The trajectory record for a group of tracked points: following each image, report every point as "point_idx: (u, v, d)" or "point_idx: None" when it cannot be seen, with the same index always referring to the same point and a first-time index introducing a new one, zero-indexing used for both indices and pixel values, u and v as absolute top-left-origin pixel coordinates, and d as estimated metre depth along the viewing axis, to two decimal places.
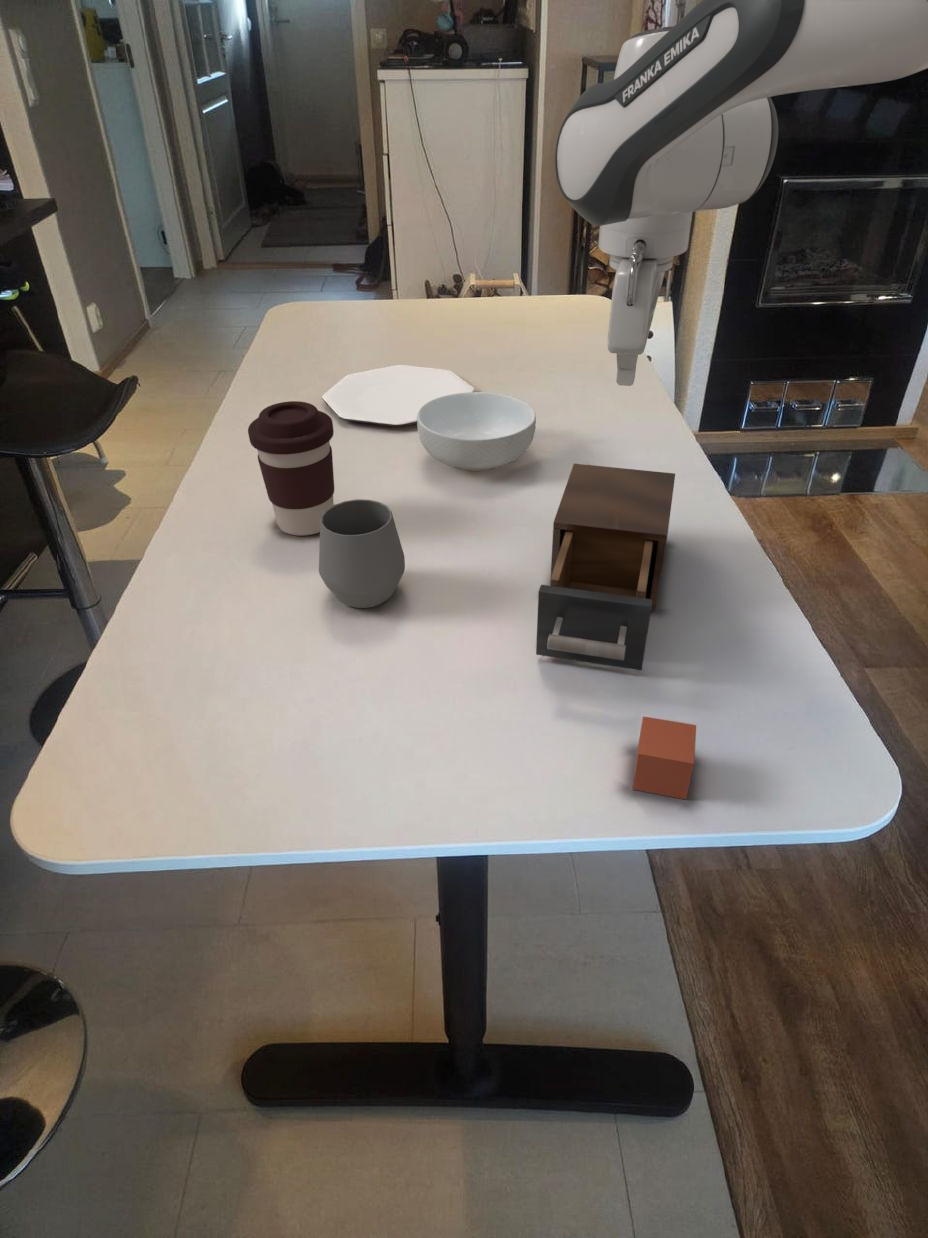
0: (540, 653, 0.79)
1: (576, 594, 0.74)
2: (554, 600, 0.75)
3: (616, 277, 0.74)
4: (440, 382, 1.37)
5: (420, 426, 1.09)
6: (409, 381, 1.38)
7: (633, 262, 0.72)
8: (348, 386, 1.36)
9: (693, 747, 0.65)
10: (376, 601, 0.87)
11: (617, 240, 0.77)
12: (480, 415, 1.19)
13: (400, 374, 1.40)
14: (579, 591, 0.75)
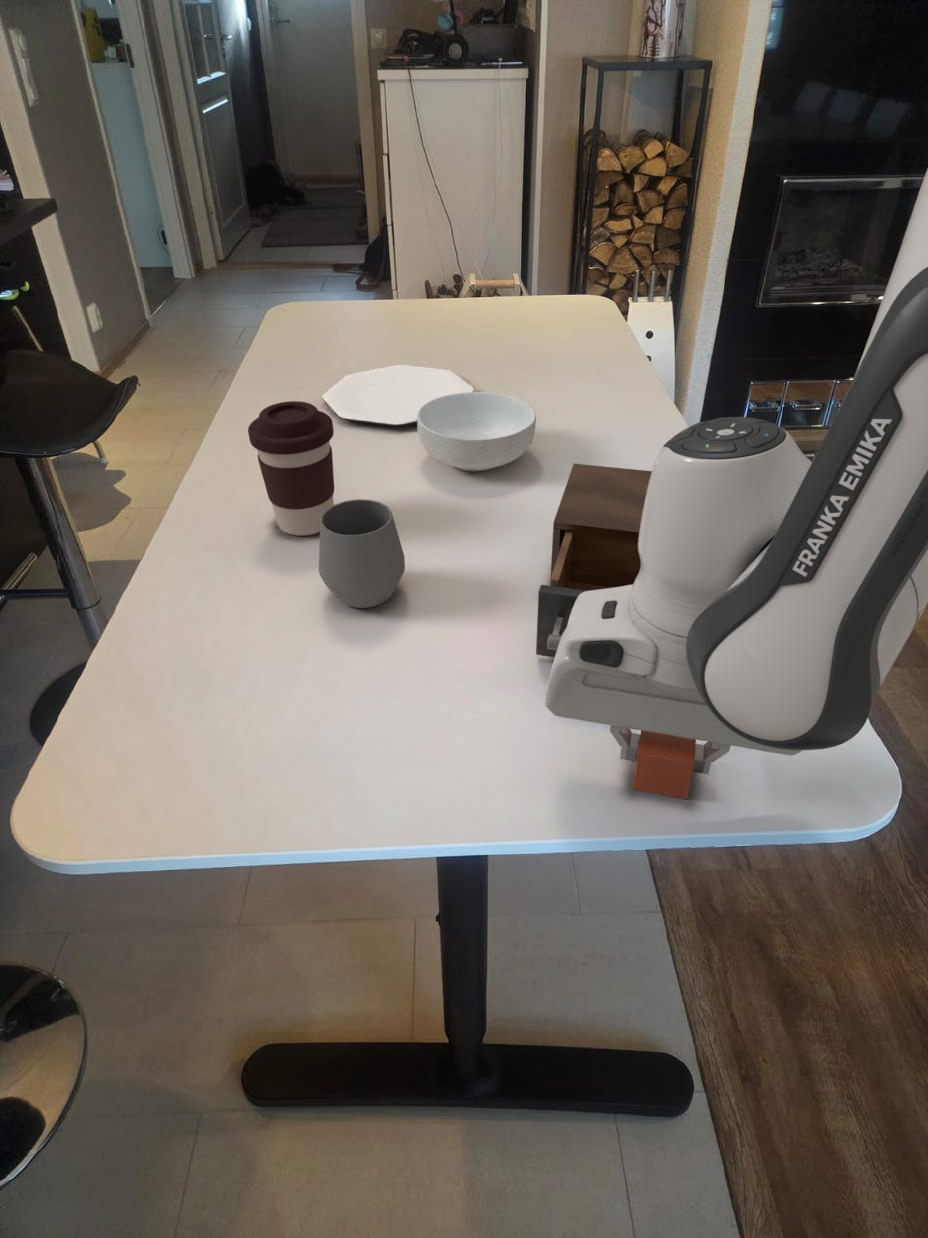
0: (540, 653, 0.79)
1: (576, 594, 0.74)
2: (554, 600, 0.75)
3: None
4: (440, 382, 1.37)
5: (420, 426, 1.09)
6: (409, 381, 1.38)
7: None
8: (348, 386, 1.36)
9: (694, 747, 0.65)
10: (376, 601, 0.87)
11: None
12: (480, 415, 1.19)
13: (400, 374, 1.40)
14: (579, 591, 0.75)
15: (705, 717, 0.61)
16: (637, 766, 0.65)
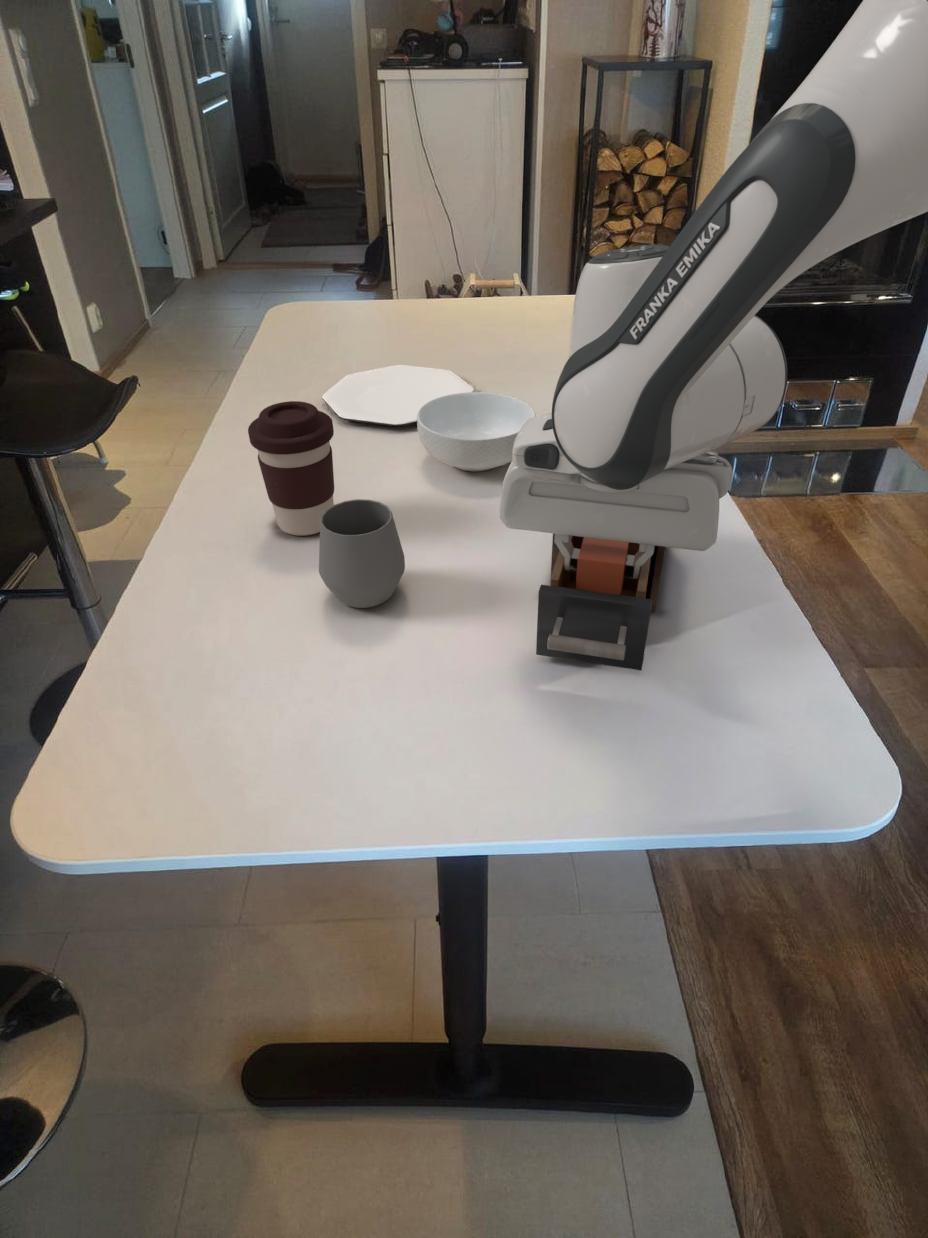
0: (540, 653, 0.79)
1: (576, 594, 0.74)
2: (554, 600, 0.75)
3: (711, 483, 0.69)
4: (440, 382, 1.37)
5: (420, 426, 1.09)
6: (409, 381, 1.38)
7: (725, 460, 0.69)
8: (348, 386, 1.36)
9: (625, 553, 0.77)
10: (376, 601, 0.87)
11: None
12: (480, 415, 1.19)
13: (400, 374, 1.40)
14: (579, 591, 0.75)
15: (631, 517, 0.73)
16: (577, 571, 0.77)
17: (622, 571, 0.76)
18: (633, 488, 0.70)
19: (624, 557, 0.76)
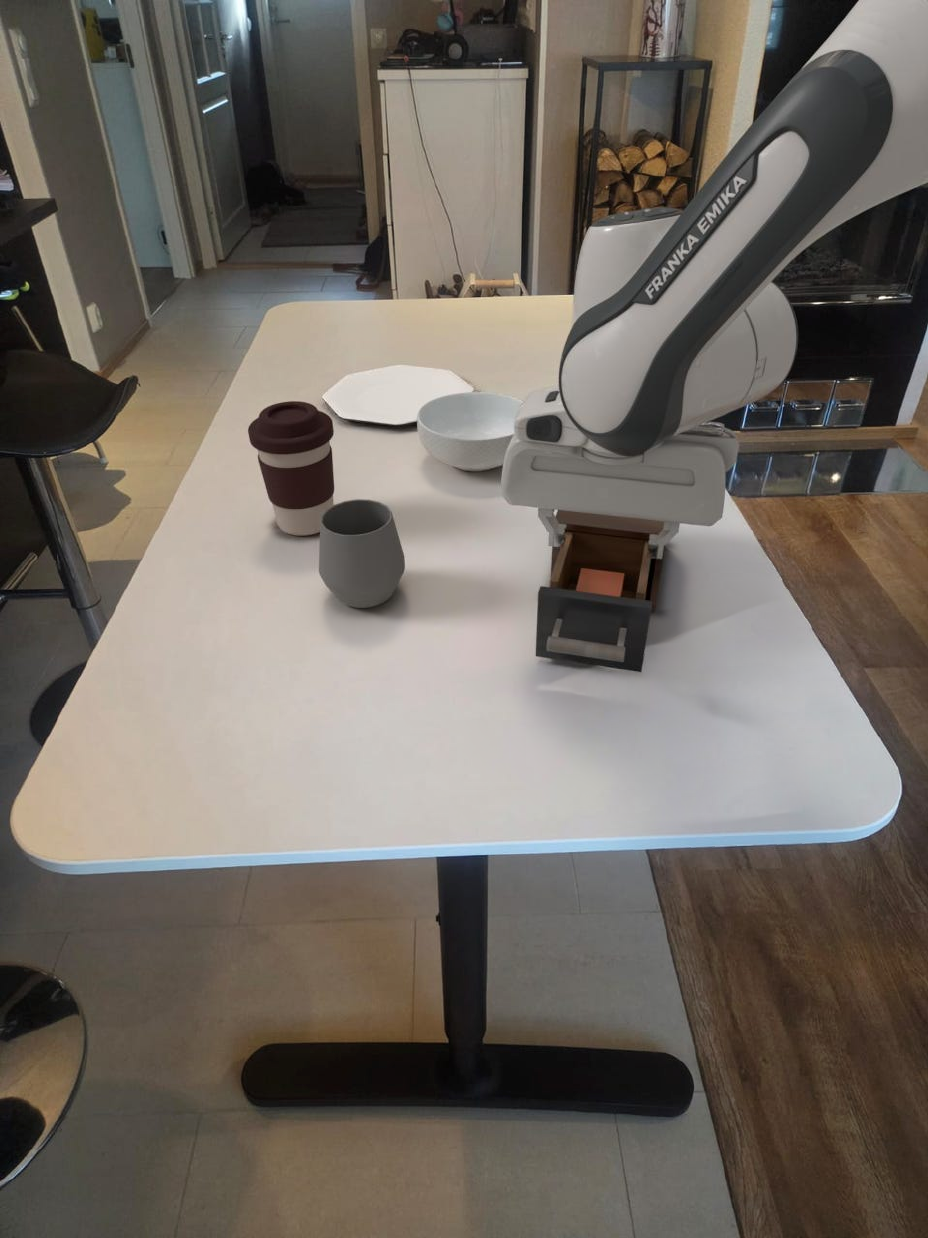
0: (540, 655, 0.79)
1: (576, 596, 0.74)
2: (554, 602, 0.75)
3: (718, 456, 0.67)
4: (440, 382, 1.37)
5: (420, 426, 1.09)
6: (409, 381, 1.38)
7: (732, 432, 0.67)
8: (348, 386, 1.36)
9: (620, 587, 0.79)
10: (376, 601, 0.87)
11: None
12: (480, 415, 1.19)
13: (400, 374, 1.40)
14: (579, 593, 0.74)
15: (635, 492, 0.71)
16: None
17: None
18: (637, 461, 0.69)
19: (620, 591, 0.78)
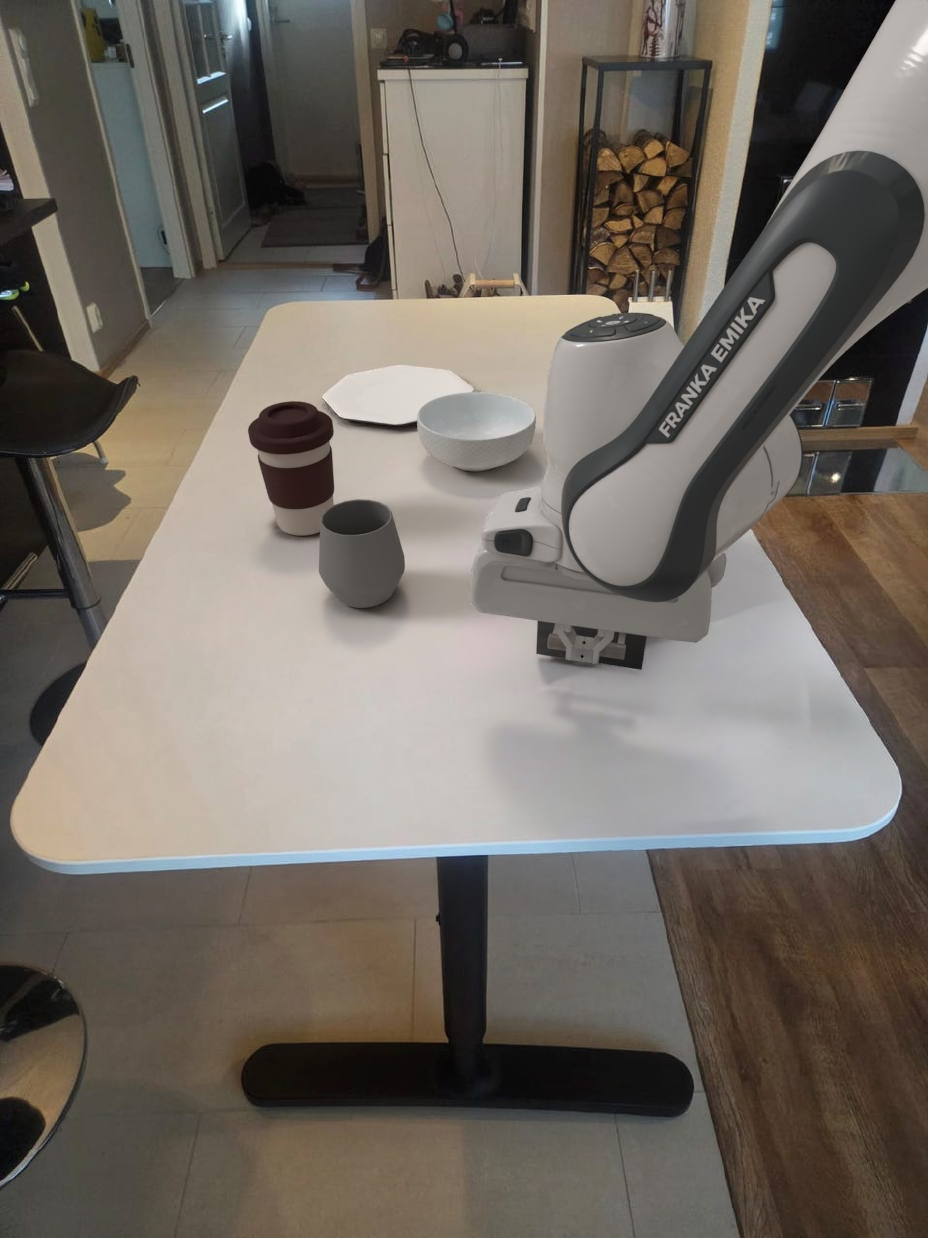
0: (540, 652, 0.79)
1: None
2: None
3: (703, 573, 0.62)
4: (440, 382, 1.37)
5: (420, 426, 1.09)
6: (409, 381, 1.38)
7: None
8: (348, 386, 1.36)
9: None
10: (376, 601, 0.87)
11: None
12: (480, 415, 1.19)
13: (400, 374, 1.40)
14: None
15: (614, 606, 0.65)
16: None
17: None
18: None
19: None
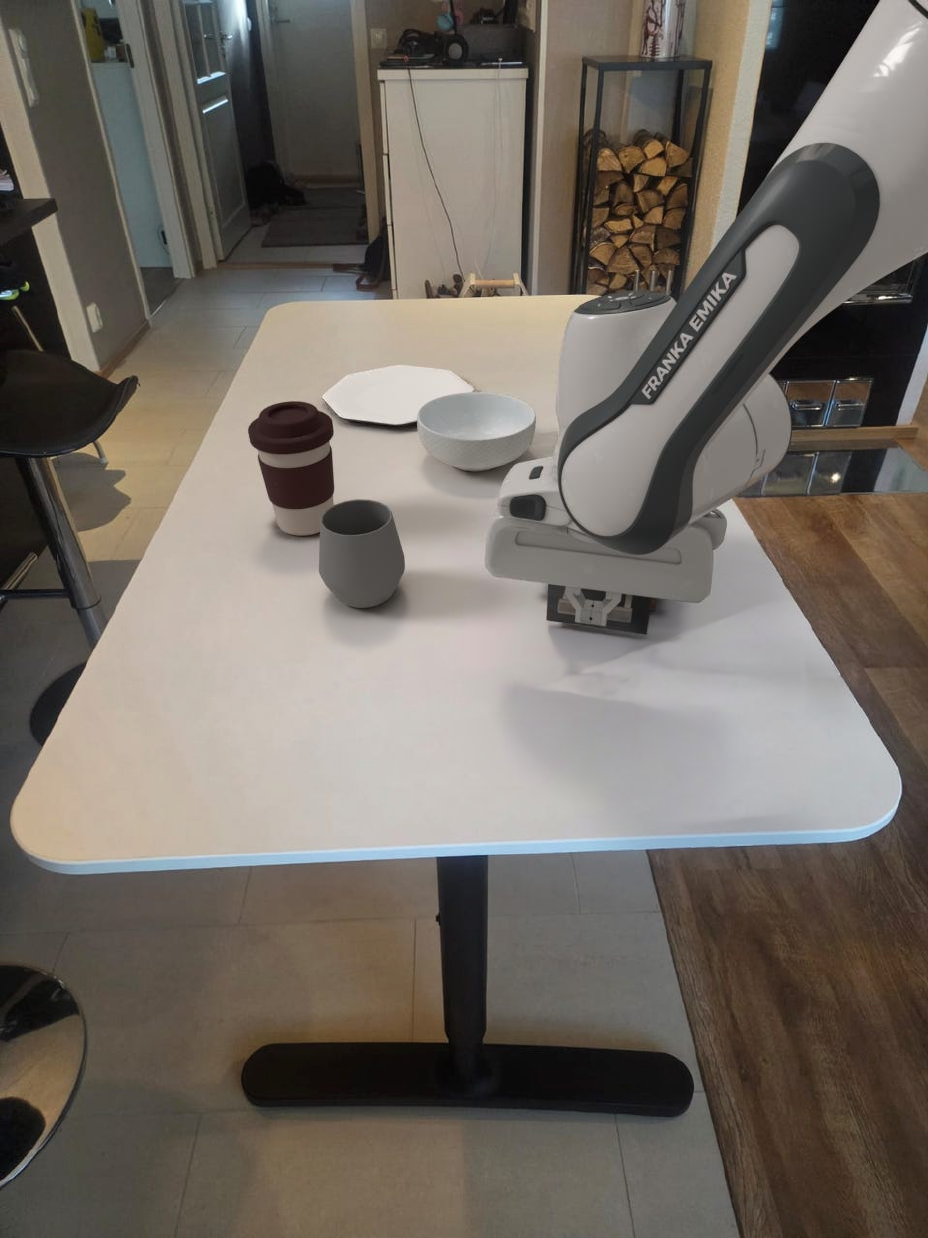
0: (550, 619, 0.84)
1: None
2: None
3: (705, 536, 0.66)
4: (440, 382, 1.37)
5: (420, 426, 1.09)
6: (409, 381, 1.38)
7: (719, 511, 0.66)
8: (348, 386, 1.36)
9: None
10: (376, 601, 0.87)
11: None
12: (480, 415, 1.19)
13: (400, 374, 1.40)
14: None
15: (621, 569, 0.70)
16: None
17: None
18: None
19: None
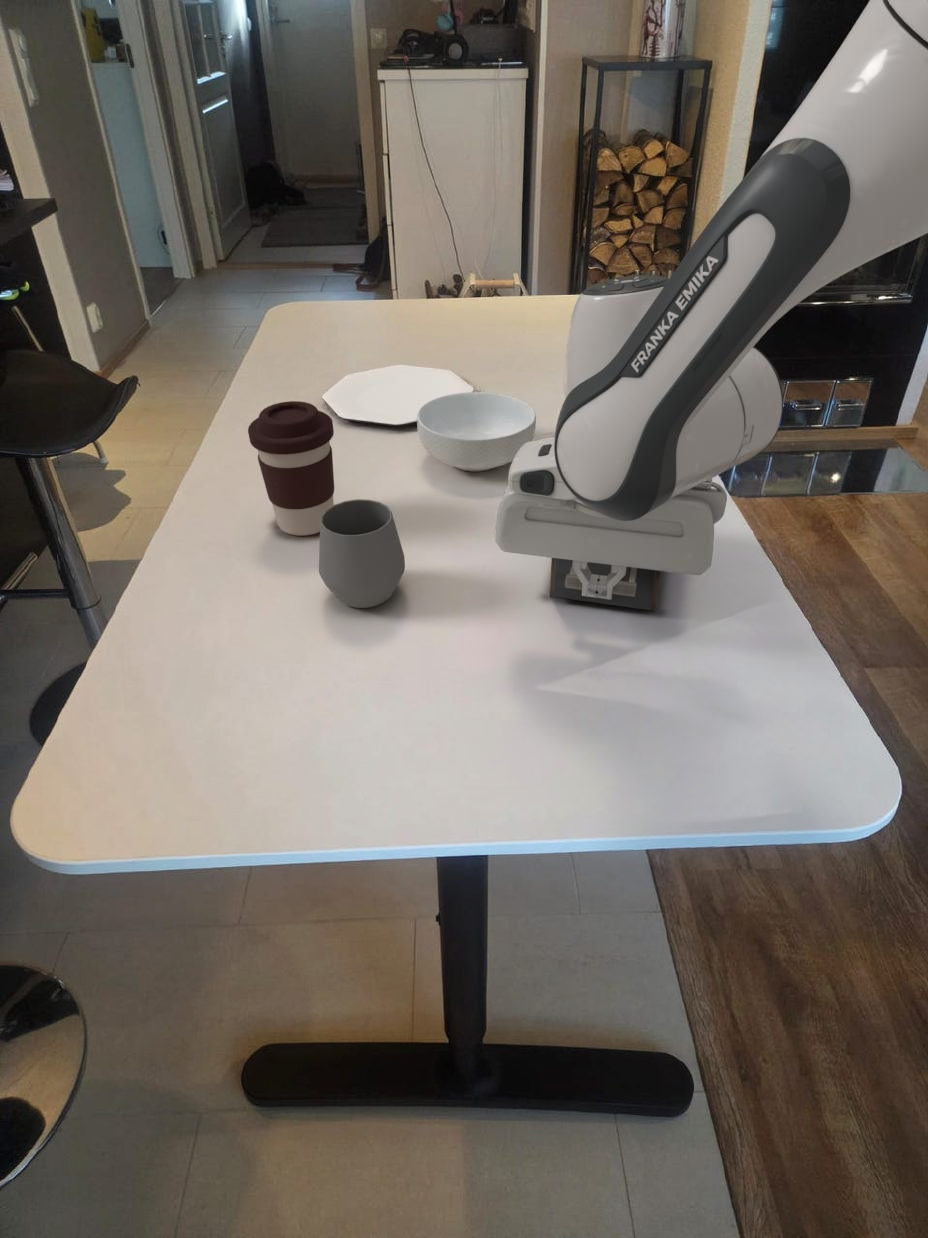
0: (557, 595, 0.87)
1: None
2: None
3: (706, 509, 0.69)
4: (440, 382, 1.37)
5: (420, 426, 1.09)
6: (409, 381, 1.38)
7: (720, 486, 0.69)
8: (348, 386, 1.36)
9: None
10: (376, 601, 0.87)
11: None
12: (480, 415, 1.19)
13: (400, 374, 1.40)
14: None
15: (626, 542, 0.73)
16: None
17: None
18: None
19: None
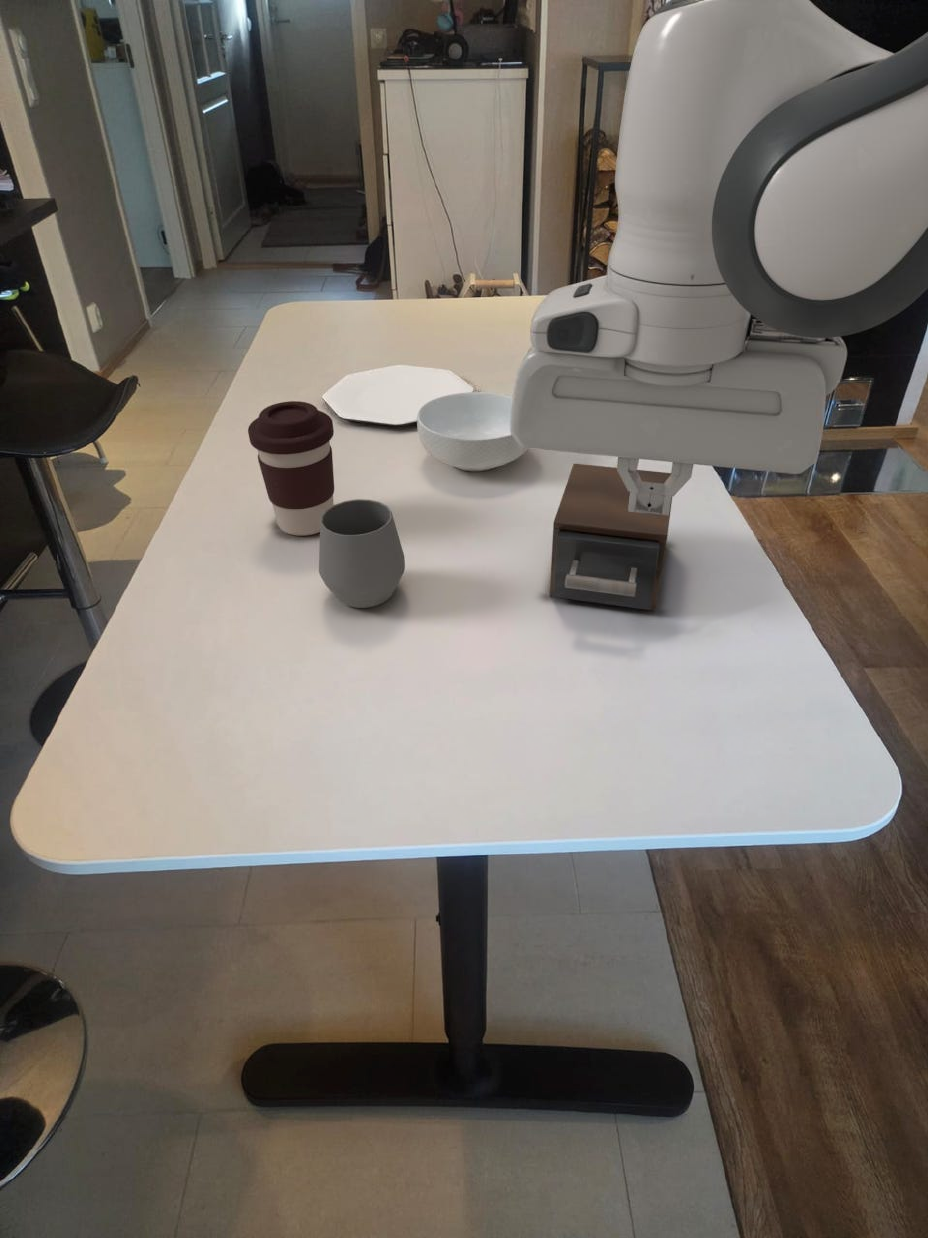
0: (557, 595, 0.87)
1: (591, 538, 0.82)
2: (571, 544, 0.83)
3: (818, 370, 0.48)
4: (440, 382, 1.37)
5: (420, 426, 1.09)
6: (409, 381, 1.38)
7: (838, 336, 0.48)
8: (348, 386, 1.36)
9: None
10: (376, 601, 0.87)
11: (739, 333, 0.47)
12: (480, 415, 1.19)
13: (400, 374, 1.40)
14: (594, 536, 0.82)
15: (696, 426, 0.52)
16: None
17: None
18: (703, 380, 0.49)
19: (630, 537, 0.86)
